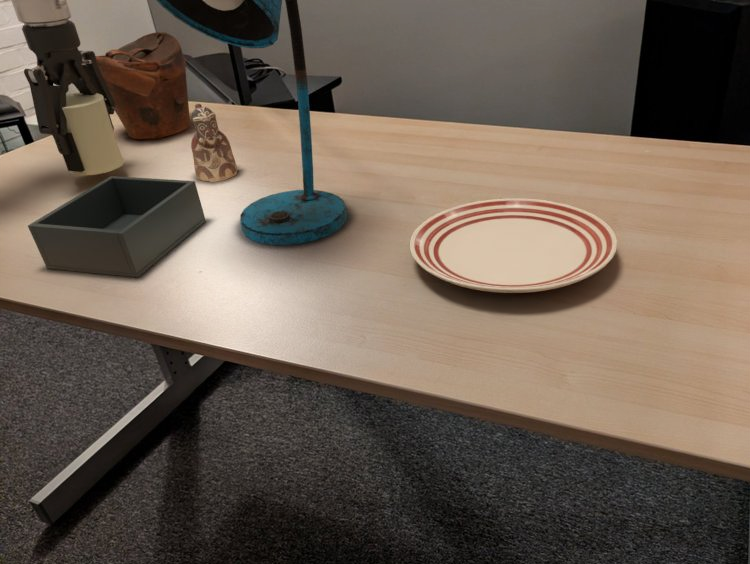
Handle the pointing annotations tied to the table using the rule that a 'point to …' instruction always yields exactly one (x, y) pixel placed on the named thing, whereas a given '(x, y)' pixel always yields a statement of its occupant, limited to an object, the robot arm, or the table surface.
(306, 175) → the desk lamp
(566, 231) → the dinner plate
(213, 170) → the figurine
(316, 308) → the table surface
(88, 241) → the bus tub
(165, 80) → the case
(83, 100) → the can
